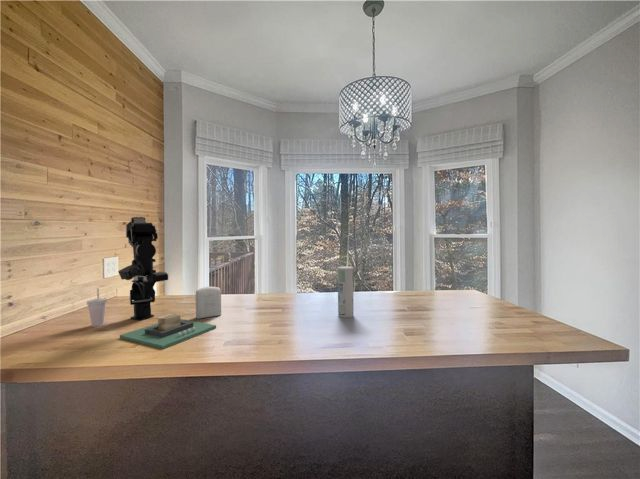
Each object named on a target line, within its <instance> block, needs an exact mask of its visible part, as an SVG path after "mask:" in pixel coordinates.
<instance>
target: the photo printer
mask: <svg viewBox="0 0 640 479" xmlns="http://www.w3.org/2000/svg"><path fill="white" fill-rule="evenodd" d="M195 290H196V291H195V318H196V319H198V320H200V319H204V318H211V317H217V316H221V315H222V291H221V287H218V286H203V287H201V288H198V289H195Z"/></svg>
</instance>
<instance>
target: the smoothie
mask: <svg viewBox="0 0 640 479" xmlns="http://www.w3.org/2000/svg"><path fill="white" fill-rule="evenodd" d="M96 295H97V296H96V298H93V299H89V300H87V301H86V305H87V307H88V313H89V318H90V322H91V326H92V328H95V327H96V328H97V327H101V326H104V324H105V316H106V307H107V306H106V305H107V304H106V303H107V302H108V301H107V300H108V299H107V298H100V289H99V288H96Z"/></svg>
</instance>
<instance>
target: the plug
mask: <svg viewBox="0 0 640 479" xmlns="http://www.w3.org/2000/svg"><path fill="white" fill-rule="evenodd" d="M180 319H181V314H179V313H175V312H173V313H169V314H165V315H162V316H159V317H157V323H158V330H161V331H165V330H168V329H171V328H174V327H177V326H180V325H181V322H180Z"/></svg>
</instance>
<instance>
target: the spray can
mask: <svg viewBox="0 0 640 479" xmlns="http://www.w3.org/2000/svg"><path fill="white" fill-rule="evenodd" d="M354 270H355V269H354V267H353V266H350V265H349V266H346V265H345V266H344V265H343V266H338V267H337V311H338V312H337V314H338V317H339V318H343V319H344V318H346V319H347V318H352V317H354V280H355V279H354V273H355V272H354Z"/></svg>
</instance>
